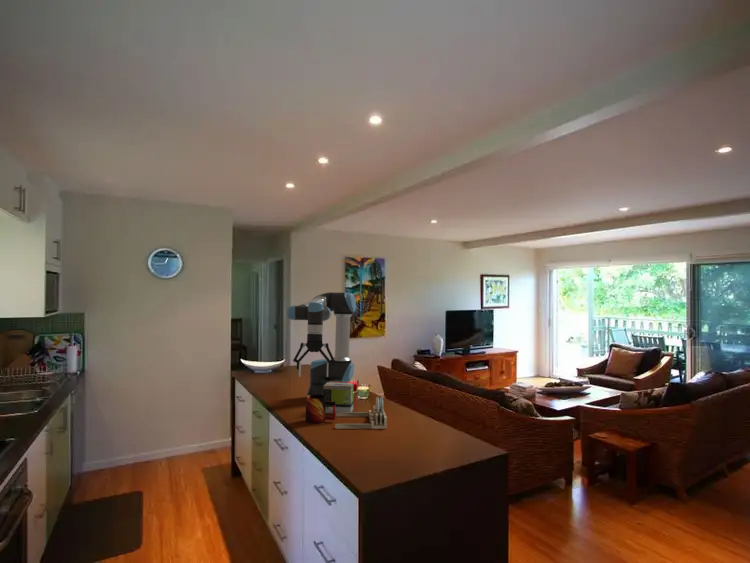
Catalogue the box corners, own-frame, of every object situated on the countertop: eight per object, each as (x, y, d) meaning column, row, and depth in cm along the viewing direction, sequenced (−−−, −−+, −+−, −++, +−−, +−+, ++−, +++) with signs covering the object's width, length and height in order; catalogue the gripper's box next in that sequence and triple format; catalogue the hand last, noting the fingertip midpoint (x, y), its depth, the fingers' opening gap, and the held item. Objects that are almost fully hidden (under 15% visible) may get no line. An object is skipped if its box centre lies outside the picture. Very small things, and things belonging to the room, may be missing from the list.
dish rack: (335, 416, 217) (336, 392, 218) (382, 416, 219) (382, 392, 219) (335, 428, 195) (335, 402, 196) (386, 428, 197) (387, 402, 197)
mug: (335, 422, 205) (336, 397, 206) (307, 424, 200) (308, 399, 201) (330, 417, 214) (331, 393, 215) (303, 419, 209) (304, 395, 210)
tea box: (353, 410, 230) (354, 382, 231) (350, 414, 220) (351, 386, 221) (326, 408, 232) (327, 381, 233) (322, 413, 222) (323, 385, 223)
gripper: (288, 333, 205) (287, 377, 203) (340, 334, 207) (338, 377, 206) (290, 332, 212) (288, 374, 211) (339, 333, 215) (338, 375, 213)
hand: (313, 376), depth 208 cm, fingers open, 13 cm apart
